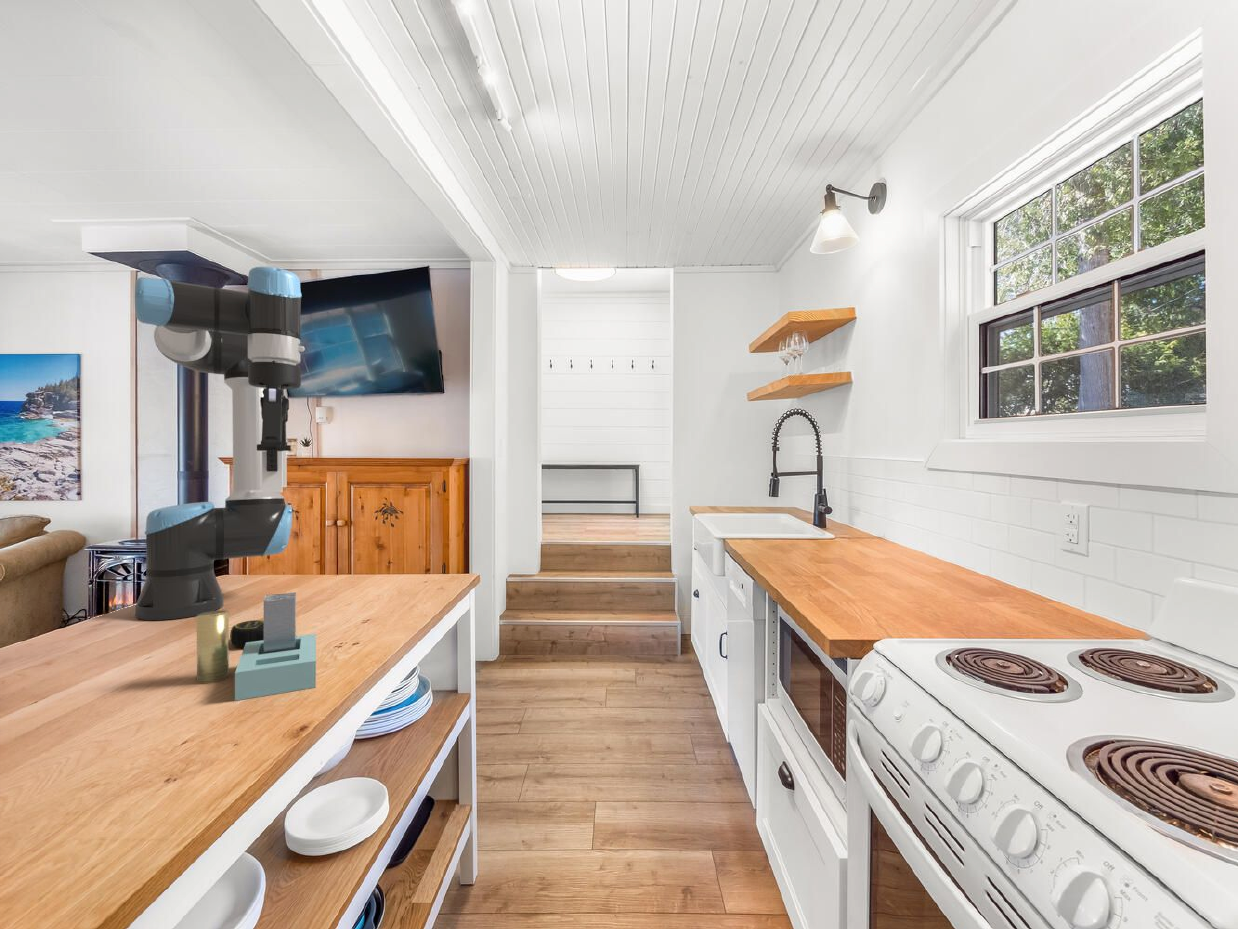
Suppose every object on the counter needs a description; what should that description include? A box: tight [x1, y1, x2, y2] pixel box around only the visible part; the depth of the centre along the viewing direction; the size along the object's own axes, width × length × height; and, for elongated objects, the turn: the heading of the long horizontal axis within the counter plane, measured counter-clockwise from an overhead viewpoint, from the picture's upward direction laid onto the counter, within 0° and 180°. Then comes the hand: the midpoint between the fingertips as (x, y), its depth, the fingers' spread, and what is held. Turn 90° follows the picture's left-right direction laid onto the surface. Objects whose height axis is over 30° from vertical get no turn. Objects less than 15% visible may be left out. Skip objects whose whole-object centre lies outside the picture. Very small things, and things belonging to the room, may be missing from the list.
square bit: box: [263, 591, 297, 654], centre depth 89 cm, size 4×4×12 cm
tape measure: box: [229, 619, 264, 648], centre depth 102 cm, size 7×7×4 cm
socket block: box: [234, 633, 317, 702], centre depth 87 cm, size 14×10×4 cm
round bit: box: [196, 609, 230, 684], centre depth 86 cm, size 4×4×10 cm
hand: (275, 490), depth 94 cm, fingers open, 13 cm apart
